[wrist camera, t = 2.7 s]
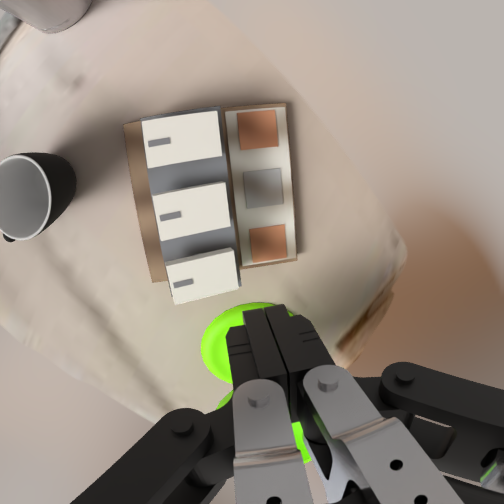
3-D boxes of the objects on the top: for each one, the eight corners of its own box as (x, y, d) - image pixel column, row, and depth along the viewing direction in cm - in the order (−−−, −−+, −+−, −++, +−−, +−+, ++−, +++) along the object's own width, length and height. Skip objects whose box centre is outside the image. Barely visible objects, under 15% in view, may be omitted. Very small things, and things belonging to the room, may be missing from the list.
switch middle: (151, 193, 29) (152, 196, 28) (221, 181, 31) (225, 182, 30) (159, 237, 31) (161, 241, 29) (226, 222, 33) (230, 226, 31)
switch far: (164, 261, 32) (166, 266, 30) (229, 246, 34) (234, 251, 32) (173, 298, 33) (175, 305, 32) (234, 283, 35) (238, 289, 34)
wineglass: (274, 282, 44) (317, 367, 27) (318, 353, 50) (361, 434, 33) (179, 336, 44) (176, 434, 28) (236, 397, 51) (252, 484, 34)
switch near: (141, 122, 26) (142, 121, 25) (213, 112, 29) (217, 110, 27) (147, 167, 28) (148, 168, 27) (218, 155, 30) (222, 155, 29)
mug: (51, 134, 32) (10, 137, 22) (98, 175, 35) (67, 189, 26) (9, 207, 34) (-32, 228, 24) (52, 246, 37) (18, 277, 27)
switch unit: (126, 124, 33) (111, 122, 27) (282, 104, 35) (298, 98, 29) (153, 277, 41) (147, 301, 35) (294, 256, 43) (309, 276, 37)
